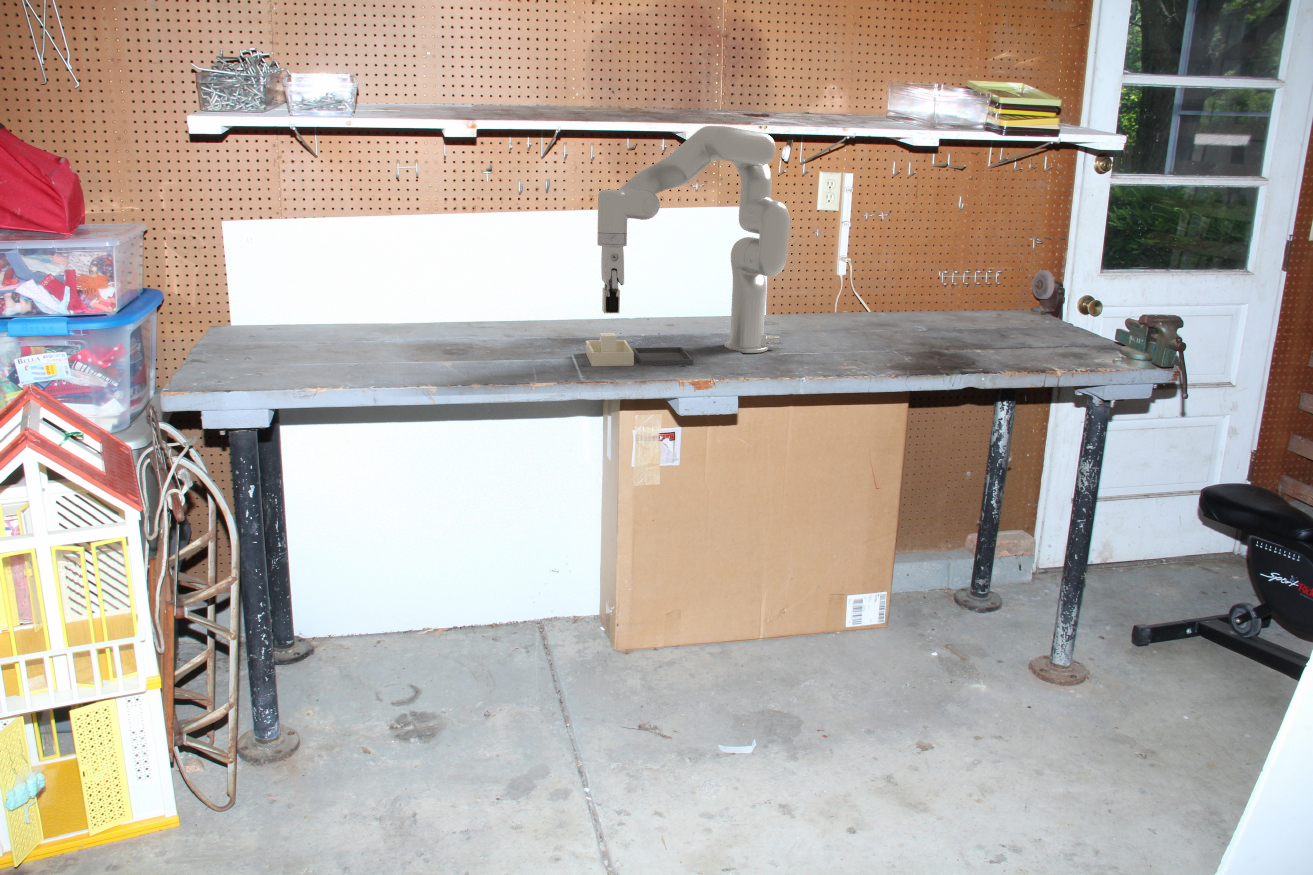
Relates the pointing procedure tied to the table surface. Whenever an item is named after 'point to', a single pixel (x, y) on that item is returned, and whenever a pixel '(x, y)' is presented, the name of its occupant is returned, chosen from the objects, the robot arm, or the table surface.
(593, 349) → the tub
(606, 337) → the stone
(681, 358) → the pan
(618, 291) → the stone
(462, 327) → the table surface
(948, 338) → the table surface
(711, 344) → the table surface
